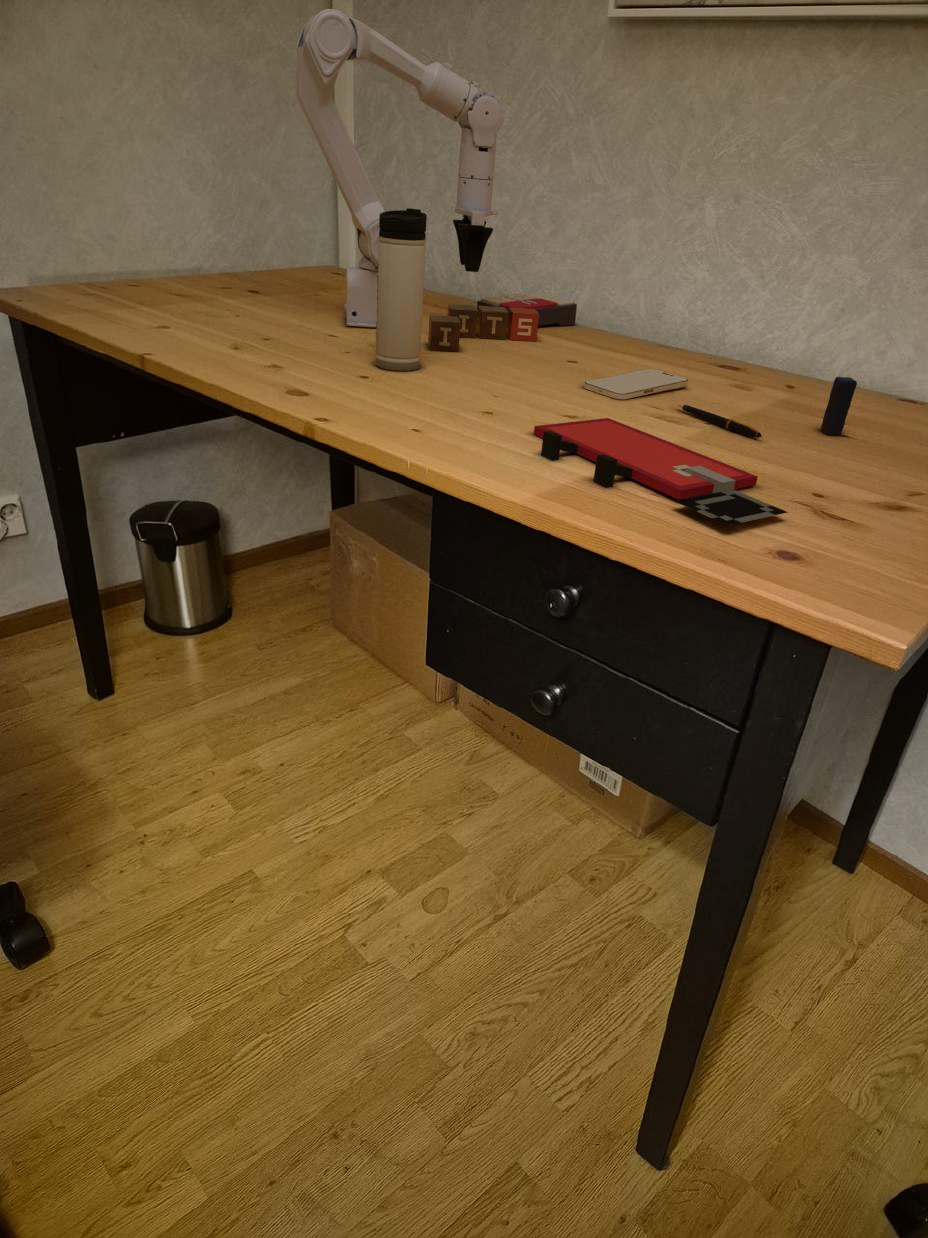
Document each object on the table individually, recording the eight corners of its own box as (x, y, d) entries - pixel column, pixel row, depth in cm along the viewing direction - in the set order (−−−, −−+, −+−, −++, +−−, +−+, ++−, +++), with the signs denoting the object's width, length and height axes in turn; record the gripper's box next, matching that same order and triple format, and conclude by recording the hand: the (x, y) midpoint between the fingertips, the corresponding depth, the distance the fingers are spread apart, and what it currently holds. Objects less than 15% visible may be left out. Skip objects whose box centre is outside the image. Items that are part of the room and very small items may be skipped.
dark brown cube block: (449, 336, 141) (451, 308, 139) (447, 331, 145) (448, 303, 143) (476, 338, 142) (478, 310, 140) (472, 332, 146) (474, 305, 144)
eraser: (818, 430, 108) (834, 375, 105) (835, 431, 109) (851, 376, 105) (825, 435, 107) (841, 380, 103) (842, 436, 107) (859, 381, 103)
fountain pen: (670, 409, 112) (673, 397, 111) (677, 408, 113) (679, 396, 112) (757, 442, 102) (760, 429, 101) (764, 441, 102) (767, 428, 102)
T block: (479, 338, 142) (481, 310, 140) (476, 332, 146) (478, 305, 144) (505, 339, 143) (508, 312, 140) (501, 334, 146) (504, 307, 144)
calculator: (476, 296, 156) (538, 289, 164) (475, 321, 158) (536, 312, 166) (515, 307, 149) (578, 299, 157) (514, 333, 151) (576, 324, 159)
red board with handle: (711, 538, 75) (816, 514, 83) (718, 508, 73) (824, 486, 81) (506, 441, 96) (606, 429, 104) (509, 416, 95) (609, 406, 103)
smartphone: (581, 381, 118) (651, 367, 127) (580, 389, 119) (649, 375, 127) (621, 394, 113) (691, 379, 122) (620, 403, 114) (690, 387, 123)
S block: (510, 340, 143) (513, 312, 141) (506, 334, 147) (508, 307, 144) (536, 341, 143) (539, 313, 141) (531, 335, 147) (534, 308, 145)
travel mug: (428, 365, 123) (436, 211, 113) (406, 373, 118) (413, 212, 108) (390, 358, 125) (395, 206, 115) (367, 366, 120) (370, 207, 110)
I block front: (430, 350, 131) (431, 320, 129) (428, 344, 135) (429, 315, 133) (458, 352, 132) (460, 322, 130) (455, 345, 136) (457, 316, 134)
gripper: (506, 182, 134) (498, 275, 140) (493, 177, 146) (487, 263, 153) (461, 179, 133) (455, 273, 139) (452, 174, 145) (447, 260, 152)
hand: (469, 268), depth 146 cm, fingers open, 7 cm apart
